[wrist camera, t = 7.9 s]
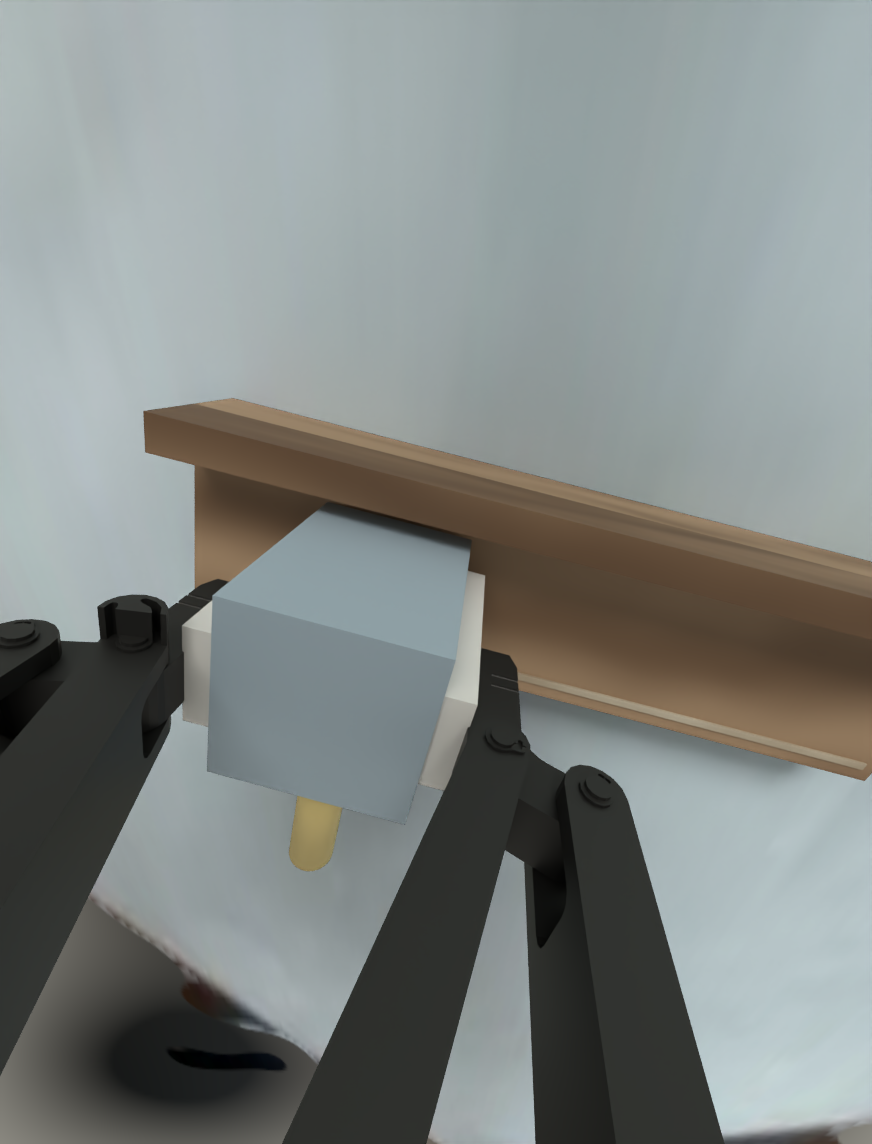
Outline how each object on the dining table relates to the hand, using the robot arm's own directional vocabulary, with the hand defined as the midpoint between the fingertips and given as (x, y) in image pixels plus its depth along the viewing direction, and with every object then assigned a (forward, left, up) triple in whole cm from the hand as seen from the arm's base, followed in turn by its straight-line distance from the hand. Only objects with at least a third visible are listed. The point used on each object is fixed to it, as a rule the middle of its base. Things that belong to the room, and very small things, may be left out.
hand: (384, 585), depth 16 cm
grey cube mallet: (+3, 0, 0) cm, 3 cm away
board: (0, +6, -4) cm, 7 cm away
